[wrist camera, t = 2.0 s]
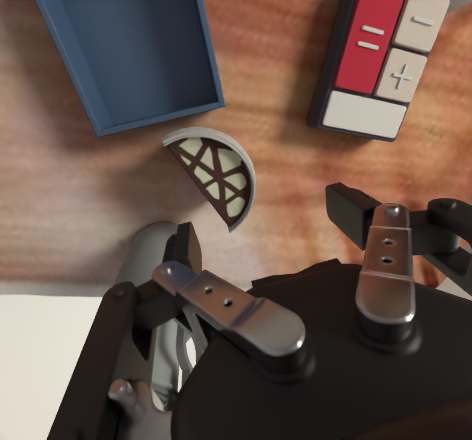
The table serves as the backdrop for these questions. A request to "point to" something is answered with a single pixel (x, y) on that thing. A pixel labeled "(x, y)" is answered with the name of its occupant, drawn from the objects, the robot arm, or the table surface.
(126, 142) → the table surface
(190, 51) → the tote
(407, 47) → the calculator
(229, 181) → the food container
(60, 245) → the table surface
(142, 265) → the water bottle
